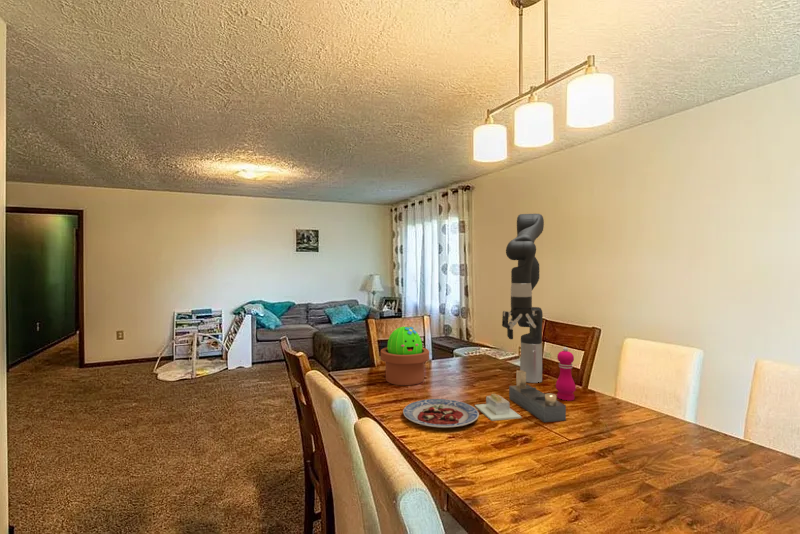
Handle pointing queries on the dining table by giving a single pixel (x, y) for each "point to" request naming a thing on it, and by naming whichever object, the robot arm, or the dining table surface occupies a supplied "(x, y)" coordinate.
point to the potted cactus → (404, 357)
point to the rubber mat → (493, 416)
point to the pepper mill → (565, 376)
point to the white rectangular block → (497, 404)
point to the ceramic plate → (440, 413)
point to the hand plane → (536, 400)
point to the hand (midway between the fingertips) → (521, 338)
